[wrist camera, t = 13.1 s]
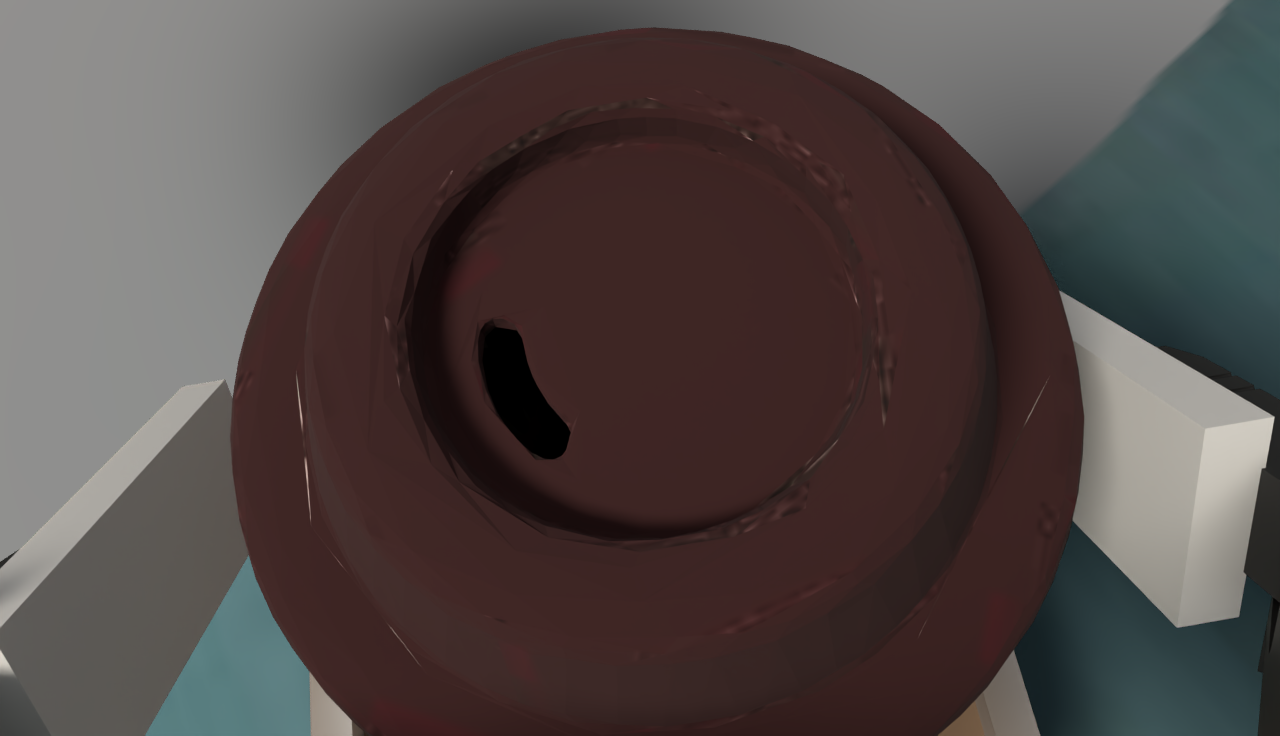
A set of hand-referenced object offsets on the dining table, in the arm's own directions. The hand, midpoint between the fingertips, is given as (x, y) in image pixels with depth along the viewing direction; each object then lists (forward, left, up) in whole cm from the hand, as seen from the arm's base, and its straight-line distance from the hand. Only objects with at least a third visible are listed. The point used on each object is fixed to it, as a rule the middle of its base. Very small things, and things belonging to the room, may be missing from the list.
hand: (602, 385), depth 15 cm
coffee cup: (-1, +2, -8) cm, 8 cm away
